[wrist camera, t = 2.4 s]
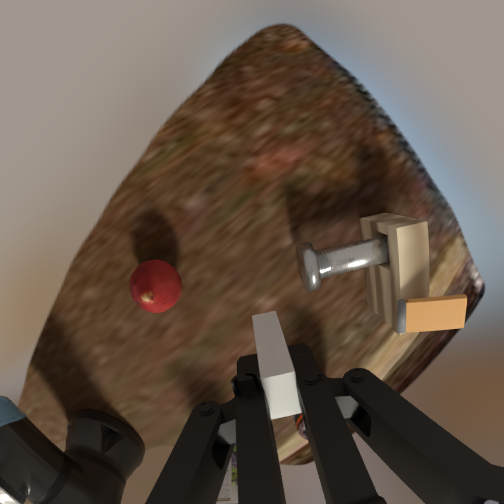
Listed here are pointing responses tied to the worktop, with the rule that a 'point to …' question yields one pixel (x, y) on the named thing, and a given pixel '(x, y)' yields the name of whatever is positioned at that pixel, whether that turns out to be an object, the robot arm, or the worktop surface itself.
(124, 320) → the worktop surface
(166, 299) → the onion
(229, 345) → the worktop surface
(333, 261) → the pin
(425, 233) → the block
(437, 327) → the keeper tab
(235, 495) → the syrup box
